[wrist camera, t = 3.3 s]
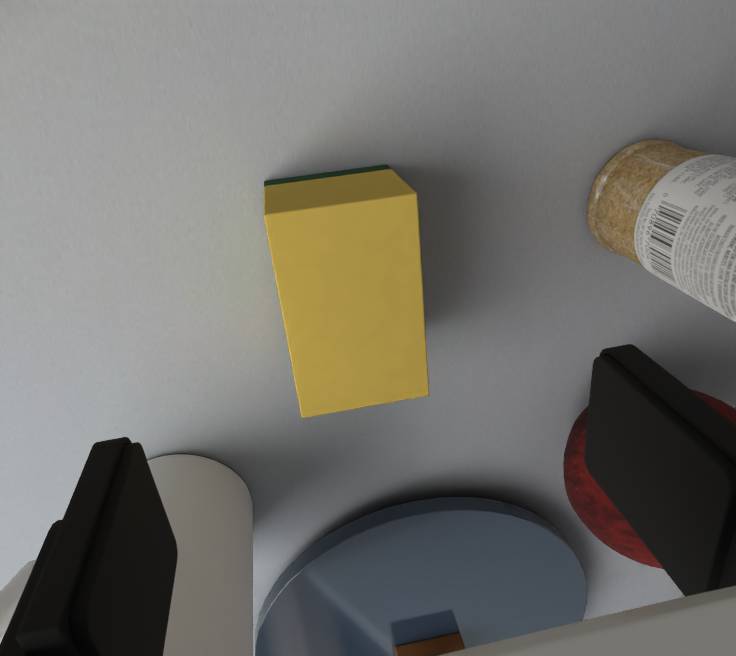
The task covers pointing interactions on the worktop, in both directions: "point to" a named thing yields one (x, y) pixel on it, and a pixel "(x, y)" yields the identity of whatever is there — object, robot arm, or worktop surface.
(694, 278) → the sprinkles bottle
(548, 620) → the plate
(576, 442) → the apple
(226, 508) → the mug
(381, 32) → the worktop surface
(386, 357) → the sponge
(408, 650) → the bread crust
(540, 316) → the worktop surface
